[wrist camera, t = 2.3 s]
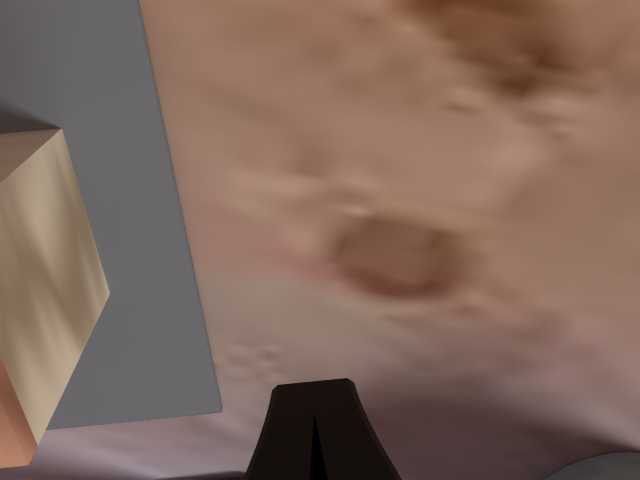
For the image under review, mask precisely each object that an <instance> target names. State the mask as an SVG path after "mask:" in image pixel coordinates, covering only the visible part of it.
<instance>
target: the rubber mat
mask: <svg viewBox="0 0 640 480" xmlns="http://www.w3.org/2000/svg"><path fill="white" fill-rule="evenodd" d="M60 128H62V130H63V134H64V137H65V141H66V144H67V148H68V151H69V154H70V158H71V161H72V165H73V168H74V172H75V175H76V178H77V182H78V185H79V189H80V192H81V196H82V199H83V203H84V206H85V209H86V213H87V216H88V220H89V223H90V227H91V230H92V234H93V237H94V240H95V244H96V247H97V251H98V254H99V258H100V261H101V265H102V268H103V271H104V275H105V278H106V282H107V285H108V289H109V292H110V295H109V297H108V299H107V301H106V304H105V306H104V308H103V310H102V312H101V314H100V316H99V318H98V320H97V323H96V325H95V327H94V329H93V331H92V333H91V335H90V337H89V339H88V341H87V344H86V346H85V348H84V350H83V352H82V354H81V356H80V358H79V360H78V363H77V365H76V367H75V369H74V371H73V373H72V375H71V377H70V379H69V381H68V384H67V386H66V388H65V390H64V392H63V394H62V396H61V398H60V400H59V403H58V405H57V407H56V409H55V411H54V413H53V415H52V417H51V419H50V422H49V424H48V426H47V428H46V430H51V429H61V428H71V427H81V426H91V425H101V424H111V423H121V422H131V421H141V420H151V419H161V418H171V417H181V416H191V415H201V414H211V413H221V412H222V403H221V398H220V393H219V388H218V384H217V379H216V374H215V369H214V364H213V359H212V354H211V350H210V345H209V340H208V335H207V330H206V325H205V321H204V316H203V311H202V306H201V301H200V296H199V291H198V287H197V282H196V277H195V272H194V267H193V262H192V257H191V253H190V248H189V243H188V238H187V233H186V228H185V223H184V219H183V214H182V209H181V204H180V199H179V194H178V190H177V185H176V180H175V175H174V170H173V165H172V160H171V156H170V151H169V146H168V141H167V136H166V131H165V126H164V122H163V117H162V112H161V107H160V102H159V97H158V92H157V88H156V83H155V78H154V73H153V68H152V63H151V59H150V54H149V49H148V44H147V39H146V34H145V29H144V25H143V20H142V15H141V10H140V5H139V0H0V134H5V133H16V132H27V131H38V130H49V129H60Z"/></svg>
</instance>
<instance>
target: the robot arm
mask: <svg viewBox="0 0 640 480" xmlns="http://www.w3.org/2000/svg"><path fill="white" fill-rule="evenodd" d="M243 480H402V479H401V477H400V476H399V474H398V472H397V471H396V469H395V467H394V465H393V464H392V462H391V460H390V459H389V457H388V455H387V454H386V452H385V450H384V448H383V447H382V445H381V443H380V441H379V439H378V438H377V436H376V434H375V432H374V430H373V428H372V426H371V424H370V422H369V420H368V418H367V415H366V413H365V411H364V409H363V406H362V404H361V402H360V399H359V396H358V394H357V391H356V388H355V384H354V382H352V381H351V380H350V379H348V378H343V379H333V380H323V381H313V382H303V383H293V384H283V385H277V386H276V387H275V388H274V389H273V390H272V394H271V399H270V404H269V407H268V411H267V415H266V418H265V422H264V425H263V428H262V431H261V434H260V437H259V440H258V443H257V446H256V448H255V451H254V454H253V456H252V459H251V461H250V464H249V466H248V469H247V471H246V474H245V476H244V479H243Z"/></svg>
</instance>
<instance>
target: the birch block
mask: <svg viewBox="0 0 640 480" xmlns="http://www.w3.org/2000/svg"><path fill="white" fill-rule="evenodd" d="M109 295H110V292H109V289H108V285H107V282H106V278H105V275H104V271H103V268H102V265H101V261H100V258H99V254H98V251H97V247H96V244H95V240H94V237H93V234H92V230H91V227H90V223H89V220H88V216H87V213H86V209H85V206H84V203H83V199H82V196H81V192H80V189H79V185H78V182H77V178H76V175H75V172H74V168H73V165H72V161H71V158H70V154H69V151H68V148H67V144H66V141H65V137H64V134H63V130H62V128H60V129H49V130H38V131H27V132H16V133H5V134H0V468H7V467H17V466H27V465H29V464H30V462H31V459H32V457H33V455H34V453H35V451H36V449H37V447H38V445H39V443H40V440H41V438H42V436H43V434H44V432H45V430H46V428H47V426H48V424H49V422H50V419H51V417H52V415H53V413H54V411H55V409H56V407H57V405H58V403H59V400H60V398H61V396H62V394H63V392H64V390H65V388H66V386H67V384H68V381H69V379H70V377H71V375H72V373H73V371H74V369H75V367H76V365H77V363H78V360H79V358H80V356H81V354H82V352H83V350H84V348H85V346H86V344H87V341H88V339H89V337H90V335H91V333H92V331H93V329H94V327H95V325H96V323H97V320H98V318H99V316H100V314H101V312H102V310H103V308H104V306H105V304H106V301H107V299H108V297H109Z"/></svg>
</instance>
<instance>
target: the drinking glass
mask: <svg viewBox="0 0 640 480" xmlns="http://www.w3.org/2000/svg"><path fill="white" fill-rule="evenodd" d="M544 480H640V453H634V452H621V453H609V454H603V455H598V456H594V457H591V458H587V459H584V460H581V461H578V462H575V463H573V464H570V465H567V466H565V467H563V468H562V469H560V470H559V471H557V472H555V473H554V474H552V475H551V476H549V477H548V478H546V479H544Z"/></svg>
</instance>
